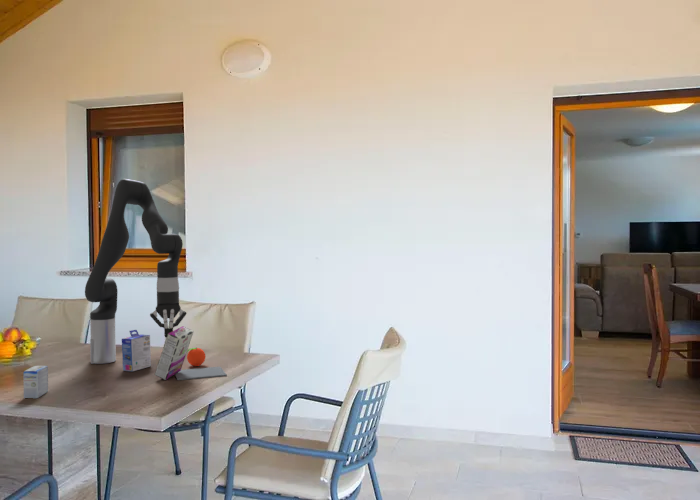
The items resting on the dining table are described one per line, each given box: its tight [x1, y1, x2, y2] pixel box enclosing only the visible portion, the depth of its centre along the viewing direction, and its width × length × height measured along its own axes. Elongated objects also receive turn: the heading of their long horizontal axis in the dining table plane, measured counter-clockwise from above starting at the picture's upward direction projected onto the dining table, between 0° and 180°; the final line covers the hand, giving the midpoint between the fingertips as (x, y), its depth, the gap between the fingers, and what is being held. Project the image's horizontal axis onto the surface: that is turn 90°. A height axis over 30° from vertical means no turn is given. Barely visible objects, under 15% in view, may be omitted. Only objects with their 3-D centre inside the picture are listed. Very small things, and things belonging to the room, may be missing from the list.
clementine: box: [186, 347, 206, 367], centre depth 234 cm, size 8×7×7 cm
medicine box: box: [23, 365, 49, 399], centre depth 193 cm, size 8×4×9 cm, turn 5°
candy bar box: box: [154, 326, 194, 381], centre depth 215 cm, size 11×5×16 cm, turn 169°
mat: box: [174, 366, 228, 381], centre depth 221 cm, size 17×14×1 cm
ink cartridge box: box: [121, 329, 152, 372], centre depth 230 cm, size 10×6×14 cm, turn 155°
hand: (168, 338), depth 217 cm, fingers closed
